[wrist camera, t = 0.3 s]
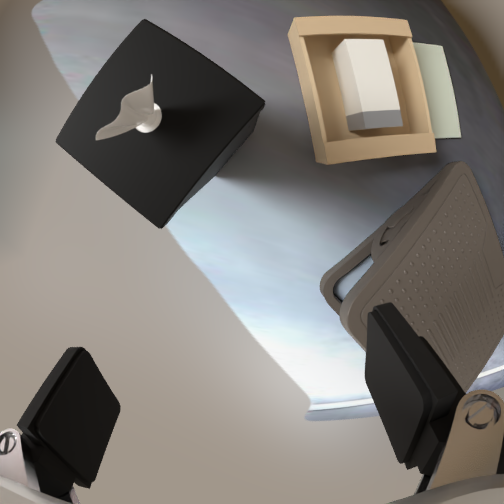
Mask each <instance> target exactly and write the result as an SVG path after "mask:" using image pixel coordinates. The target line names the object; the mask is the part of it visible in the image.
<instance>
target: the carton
mask: <svg viewBox="0 0 504 504" xmlns="http://www.w3.org/2000/svg"><path fill="white" fill-rule="evenodd" d="M288 37H289V41H290V45H291V49H292V53H293V56H294V60H295V64H296V68H297V73H298V77H299V81H300V85H301V90H302V94H303V99H304V103H305V108H306V112H307V117H308V122H309V127H310V132H311V137H312V143H313V148H314V153H315V159H316V162H318V163H322V164H326V165H330V164H337V163H343V162H351V161H358V160H365V159H373V158H382V157H390V156H400V155H410V154H420V153H432V152H436V145H435V137H434V133H432V128H431V121H430V115H429V109H428V104H427V99H426V94H425V89H424V85H423V80H422V76H421V72H420V68H419V64H418V60H417V56H416V53H415V49H414V46H413V42H412V39H411V37H412V34H411V31H410V28H409V25H408V22H407V20H401V19H392V18H380V17H364V16H314V17H297V18H294V20H293V22H292V25H291V27H290V30H289V33H288ZM344 39H380V40H383V41H384V44H385V48H386V51H387V55H388V58H389V62H390V66H391V70H392V74H393V78H394V82H395V87H396V91H397V96H398V101H399V106H400V111H401V117H402V123H403V126H398V127H385V128H373V129H362V130H352V131H349V130H348V125H347V120H346V115H345V110H344V105H343V100H342V96H341V91H340V87H339V82H338V78H337V74H336V70H335V66H334V62H333V58H332V54H331V53H332V52H333V51H334V50H335V49H336V48H337V46H338V45H339V44H340V43H341V42H342V41H343V40H344Z"/></svg>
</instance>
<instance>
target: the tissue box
mask: <svg viewBox="0 0 504 504" xmlns="http://www.w3.org/2000/svg"><path fill="white" fill-rule="evenodd" d="M264 102H265V101H264V100H263V99H262V98H261V97H259V96H258V95H257V94H256V93H254V92H253V91H252V90H251V89H249V88H248V87H247V86H245V85H244V84H243V83H241V82H240V81H239V80H238V79H236V78H235V77H233V76H232V75H231V74H229V73H228V72H227V71H225V70H224V69H223V68H221V67H220V66H218V65H217V64H216V63H214V62H213V61H211V60H210V59H208V58H207V57H205V56H204V55H202V54H201V53H200V52H198V51H197V50H195V49H194V48H192V47H190V46H189V45H187V44H186V43H184V42H183V41H181V40H180V39H178V38H176V37H175V36H173V35H172V34H170V33H168V32H167V31H165V30H163V29H162V28H160V27H158V26H157V25H155V24H153V23H151V22H150V21H148V20H146V19H144V20H142V21H141V22H140V23H139V24H138V25H137V26H136V27H135V28H134V29H133V30H132V32H131V33H130V34H129V35H128V36H127V37H126V38H125V40H124V41H123V42H122V43H121V44H120V46H119V47H118V48H117V49H116V50H115V52H114V53H113V54H112V55H111V57H110V58H109V59H108V60H107V62H106V63H105V64H104V66H103V67H102V68H101V70H100V71H99V72H98V74H97V75H96V77H95V78H94V79H93V81H92V82H91V84H90V85H89V86H88V88H87V89H86V91H85V92H84V94H83V95H82V97H81V98H80V100H79V101H78V103H77V105H76V106H75V108H74V109H73V111H72V113H71V115H70V116H69V118H68V119H67V121H66V123H65V124H64V126H63V128H62V130H61V132H60V133H59V135H58V137H57V139H56V143H57V144H58V145H60V146H61V147H62V148H63V149H64V150H65V151H66V152H68V153H69V154H70V155H71V156H72V157H73V158H74V159H76V160H77V161H78V162H79V163H80V164H82V165H83V166H84V167H85V168H86V169H87V170H88V171H90V172H91V173H92V174H93V175H94V176H96V177H97V178H98V179H99V180H100V181H101V182H103V183H104V184H105V185H106V186H107V187H109V188H110V189H111V190H112V191H114V192H115V193H116V194H117V195H118V196H120V197H121V198H122V199H123V200H124V201H125V202H127V203H128V204H129V205H131V206H132V207H133V208H134V209H135V210H137V211H138V212H139V213H140V214H142V215H143V216H144V217H145V218H146V219H148V220H149V221H150V222H151V223H153V224H154V225H155V226H156V227H158V228H163V227H164V226H165V225H166V224H167V223H168V222H169V221H170V220H171V218H172V217H173V216H174V214H175V213H176V212H177V211H178V210H179V209H180V208H181V207H182V206H183V205H184V204H185V203H186V202H187V201H188V200H189V199H190V198H192V196H194V195H195V194H196V193H197V192H198V191H199V190H200V189H201V188H202V187H203V186H205V185H206V184H207V183H208V182H209V181H210V180H211V179H212V178H213V177H214V176H215V175H216V174H217V173H218V172H219V170H220V169H221V168H222V167H223V166H224V165H225V163H226V162H227V161H228V160H229V159H230V157H231V156H232V155H233V154H234V153H235V152H236V150H237V149H238V148H239V147H240V146H241V145H242V144H243V142H244V141H245V140H246V139H247V138H248V137H249V136H250V134H251V133H252V132H253V131H254V128H255V125H256V122H257V119H258V116H259V113H260V111H261V110H262V109H263V108H264V106H265V103H264Z"/></svg>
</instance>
